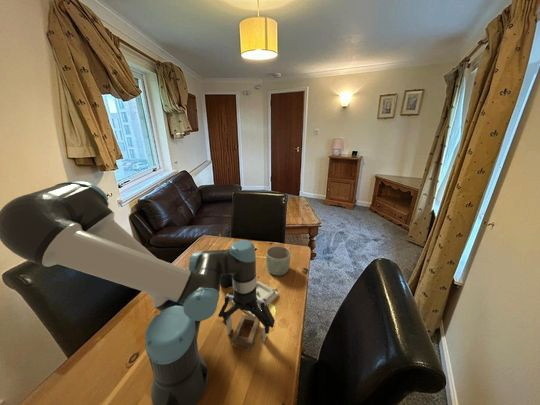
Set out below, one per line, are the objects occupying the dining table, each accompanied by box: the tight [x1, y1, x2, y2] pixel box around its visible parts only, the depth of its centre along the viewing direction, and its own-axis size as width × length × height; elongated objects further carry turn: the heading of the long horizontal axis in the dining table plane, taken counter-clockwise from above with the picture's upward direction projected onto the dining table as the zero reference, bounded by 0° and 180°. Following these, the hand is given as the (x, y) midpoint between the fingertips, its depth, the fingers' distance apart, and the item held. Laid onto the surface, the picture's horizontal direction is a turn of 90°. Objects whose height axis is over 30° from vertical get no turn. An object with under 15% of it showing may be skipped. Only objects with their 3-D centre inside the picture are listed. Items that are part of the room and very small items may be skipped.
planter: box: [265, 245, 292, 276], centre depth 110 cm, size 12×12×11 cm
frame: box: [231, 314, 261, 352], centre depth 76 cm, size 10×7×4 cm
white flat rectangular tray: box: [231, 279, 279, 318], centre depth 93 cm, size 16×13×3 cm
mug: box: [220, 274, 233, 289], centre depth 99 cm, size 8×12×10 cm
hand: (246, 334), depth 77 cm, fingers open, 12 cm apart
